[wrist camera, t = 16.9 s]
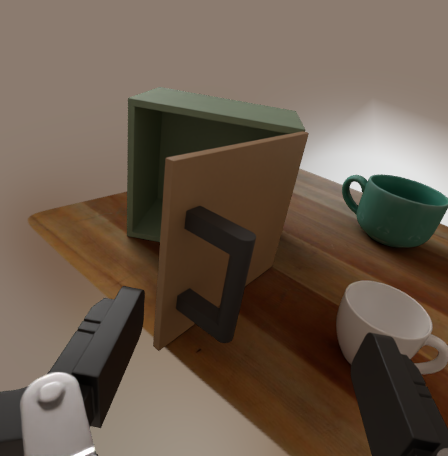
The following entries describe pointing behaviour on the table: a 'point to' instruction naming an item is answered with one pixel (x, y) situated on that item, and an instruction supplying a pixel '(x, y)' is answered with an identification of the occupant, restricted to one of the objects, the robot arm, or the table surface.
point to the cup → (386, 322)
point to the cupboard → (185, 142)
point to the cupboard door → (220, 231)
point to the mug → (396, 209)
